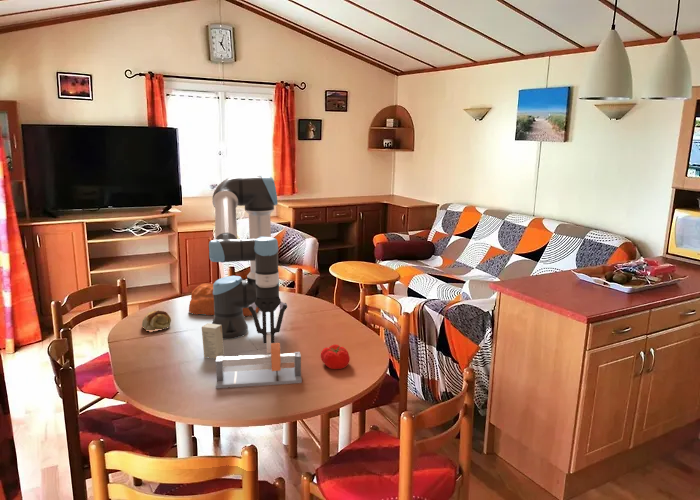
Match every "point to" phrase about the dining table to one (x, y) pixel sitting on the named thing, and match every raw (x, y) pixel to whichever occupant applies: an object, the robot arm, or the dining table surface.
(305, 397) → the dining table surface
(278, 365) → the collar
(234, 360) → the rail
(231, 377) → the board
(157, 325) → the pastry
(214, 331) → the skincare box
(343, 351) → the tomato
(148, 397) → the dining table surface
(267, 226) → the robot arm
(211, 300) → the bread
